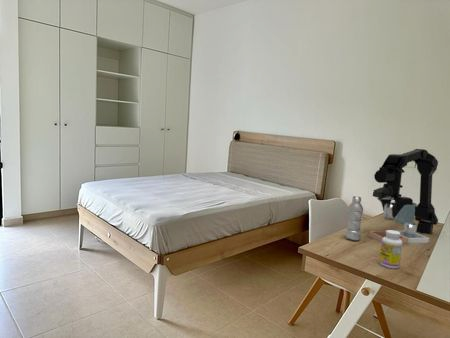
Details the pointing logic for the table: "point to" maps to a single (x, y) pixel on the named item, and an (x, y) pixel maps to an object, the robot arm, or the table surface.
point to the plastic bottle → (354, 219)
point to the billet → (410, 230)
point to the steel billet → (388, 212)
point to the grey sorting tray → (381, 234)
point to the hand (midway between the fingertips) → (389, 215)
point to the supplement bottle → (391, 249)
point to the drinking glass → (406, 214)
